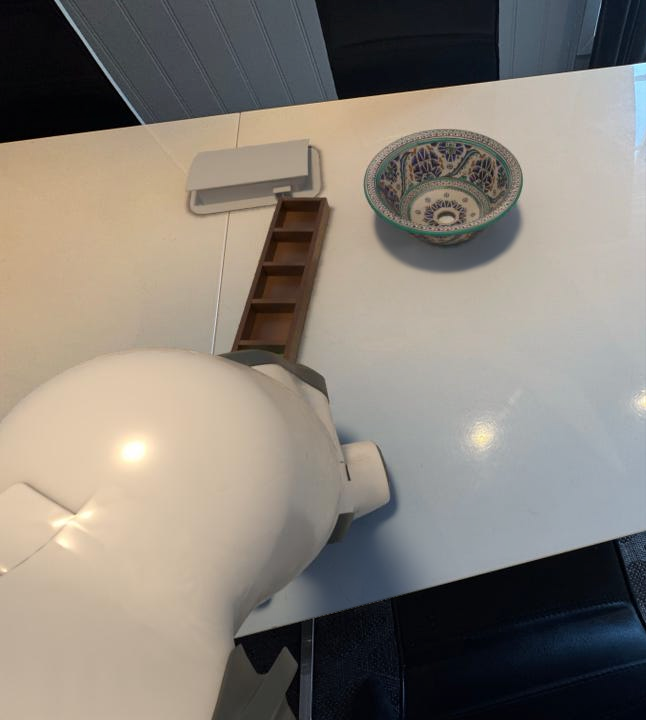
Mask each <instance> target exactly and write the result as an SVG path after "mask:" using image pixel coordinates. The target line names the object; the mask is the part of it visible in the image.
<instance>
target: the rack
mask: <svg viewBox="0 0 646 720" xmlns="http://www.w3.org/2000/svg"><path fill="white" fill-rule="evenodd" d="M330 213H331V208H330V205H329V201H328V198H327V197H325V196H324V197H323V196H321V197H319V196H318V197H317V196H315V197H279V198H278V201H277V204H275V208H274V211H273V215H272V217H271V221H270V224H269V227H268V231H267V234H266V237H265V241H264V242H263V243H264V244H263V247H262V250H261V253H260V256H259V259H258V263H257V266H256V269H255V273H254V276H253V279H252V282H251V285H250V288H249V292H248V295H247V298H246V301H245V304H244V308H243V311H242V314H241V317H240V320H239V323H238V326H237V330H236V333H235V337H234V340H233V343H232V346H231V350H230V352H234V351H239V350H248V349H257V350H265V351H269V352H273V353H275V354H278V355H279V356H281V357H283V358H284V359H285V360H287V361H288V362H289V363H297V358H298V355H299V349H300V346H301V341H302V337H303V332H304V328H305V323H306V319H307V315H308V311H309V306H310V301H311V297H312V292H313V287H314V285H315V284H314V283H315V280H316V275H317V270H318V266H319V261H320V257H321V253H322V248H323V244H324V239H325V235H326V230H327V227H328V222H329V218H330V215H331V214H330Z"/></svg>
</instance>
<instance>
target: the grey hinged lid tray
mask: <svg viewBox="0 0 646 720" xmlns="http://www.w3.org/2000/svg"><path fill="white" fill-rule="evenodd" d="M309 143H310V138H303V139H295V140H288V141H286V140H285V141H280V142H272V143H263V144H254V145H247V146H238V147H231V148H224V149H222V148H221V149H216V150H207V151H200V152H197V153H196V155H195V156H194V157H193V159H192V162H191V164H190V167H189V171H188V174H187V178H186V179H187V180H186V183H185V190H184V191H185V193H187V192H191V194H190V199H189V207H190V211H192V212H193V213H194V214H196V215H209V214H216V213H217V214H218V213H223V212H229V211H231V212H232V211H238V210H245V209H251V208H252V209H253V208H261V207H266V206H274V205H275V206H276V205H277V201H278V198H279V197H317V196H318V195H319V194H320V191H321V188H322V181H321V166H320V155H319V152H318V151H317V150H316V149H315V148H313V147H309Z"/></svg>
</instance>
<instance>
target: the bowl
mask: <svg viewBox="0 0 646 720" xmlns="http://www.w3.org/2000/svg"><path fill="white" fill-rule="evenodd" d="M523 187H524V176H523V171H522V167H521V164H520V163H519V161H518V159H517V157H516V156H515V154H513V153H512V152H511V151H510V150H509V148H507V147H506V146H504V145H503V144H502V143H500V142H499V141H497V140H495V139H493V138H491V137H489V136H487V135H484V134H482V133H478V132H475V131H471V130H465V129H457V128H437V129H428V130H427V129H426V130H422V131H418V132H417V131H416V132H414V133H410V134H408V135H405V136H403V137H401V138H398V139H396V140H394V141H392V142H391V143H389V144H388V145H386V146H385V147H383V148H382V149H381V150H380V151H379V152H378V153H376V155H375V156H374V157H373V158H372V159H371V161H370V163H369V164H368V165H367V168H366V170H365V173H364V177H363V192H364V196H365V199H366V201H367V203H368V205H369V207H370V209H372V210H373V212H374V213H375V214H377V216H378V217H379V218H380V219H382V220H383V221H384V222H386V223H387V224H389V225H391V226H393V227H395V228H397V229H399V230H402V231H404V232H406V233H407V234H409V235H410V236H412V237H414V238H416V239H418V240H421V241H422V242H427V243H431V244H437V245H446V246H448V245H454V244H458V243H462V242H465V241H468V240H470V239H473V238H475V237H477V236H478V235H480V234H482V233H483V232H485V230H486V229H488V227H489V226H491V225H493V224H494V223H496V222H498V221H499V220H502V218H504V217H505V216H506V215H507V214H509V213H510V211H511V210H512V209H513V208H514V206H515V205H516V204H517V202H518V200H519V199H520V197H521V193H522V190H523ZM442 213H451V214H453V215H454V220H453V221H450V222H441V220H439V219H438V217H439V216H440V214H442Z"/></svg>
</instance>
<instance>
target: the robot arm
mask: <svg viewBox="0 0 646 720" xmlns="http://www.w3.org/2000/svg"><path fill="white" fill-rule="evenodd" d="M384 457H385V456H384V455H383V452H382V450H381V449H380V447H379V445H378V444H377V443H375V441H373V440H362V441H356V442H350V443H345V444H341V443H340V440H339V436H338V432H337V429H336V424H335V421H334V418H333V413H332V410H331V407H330V398H329V393H328V387H327V383H326V378H325V377H324V376H323V375H322V374H320V373H319V372H317V371H316V370H314V369H313V368H311V367H310V366H308V365H305V364H303V363H300V362H296V363H289V362H288V361H287V360H285V359H284V358H283V357H281V356H279V355H278V354H275V353H273V352H269V351H265V350H257V349H248V350H239V351H234V352H231V351H230V352H229V351H228V352H223V353H221V354H217V355H216V354H211V353H206V352H202V351H197V350H191V349H185V348H178V347H158V346H157V347H141V348H139V347H138V348H129V349H124V350H119V351H115V352H110V353H106V354H102V355H99V356H96V357H93V358H91V359H87V360H84V361H82V362H80V363H78V364H76V365H74V366H72V367H70V368H67V369H65V370H63V371H61V372H60V373H57V374H56V375H54V376H53V377H51V378H49V379H48V380H46V381H45V382H43V383H41V384H40V385H38V386H37V387H36V388H34V389H33V390H32V391H31V392H29V394H27V395H26V396H25V397H23V398H22V399H21V400H20V401H19V402H18V403H17V404H16V405H15V406H14V407H13V408H12V409H11V410H10V411H9V412H8V413H7V414H6V415H5V417H4V418H3V419H2V421H1V422H0V720H297V718H296V717H295V715H294V713H293V711H292V709H291V707H290V706H289V703H288V700H287V696H286V692H287V690H288V689H289V687H290V685H291V683H292V681H293V679H294V677H295V675H296V673H297V672H298V668H299V664H298V662H297V660H296V659H295V658H294V656H293V654H291V651H290V650H289V649H288V647H287V646H283V647H282V649H281V651H280V653H279V654H278V656H277V657H276V659H275V661H274V663H273V664H272V666H271V668H270V669H269V670H268V672H266V673H264V674H262V673H258V672H257V671H256V669H255V668H254V667H253V666H254V665H252V663H251V661H250V660H249V658H248V656H247V653H246V652H245V650H244V647H243V645H242V643H239V644H238V645H237V646H236V645H235V637H236V635H237V634H238V632H239V630H240V629H241V627H242V626H243V624H244V623H245V621H246V620H247V618H248V617H249V616H250V614H251V613H253V611H254V610H255V609H257V607H259V606H260V605H262V604H264V603H265V602H267V601H268V600H270V599H271V598H273V597H274V596H275V595H277V594H279V592H282V590H284V589H285V588H286V587H288V585H290V584H291V583H292V582H293V581H294V580H295V579H296V578H297V577H299V576H300V574H302V573H303V572H304V571H305V570H306V569H307V568H308V567H309V566H310V565H311V564H312V563H313V561H314V560H315V559H316V558H317V557H318V556H319V554H320V553H321V552H322V550H323V549H324V547H325V546H326V545H331V544H336V543H343V542H344V540H345V537H346V536H347V534H348V532H349V530H350V527H351V526H352V523H353V521H355V520H357V519H359V518H361V517H363V516H366V515H368V514H369V513H370V514H371V513H372V512H374V511H376V510H378V509H379V508H382V507H384V506H385V505H387V504H388V503H389V502H390V500H391V495H392V484H391V479H390V474H389V470H388V467H387V463H386V461H385V458H384Z"/></svg>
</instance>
